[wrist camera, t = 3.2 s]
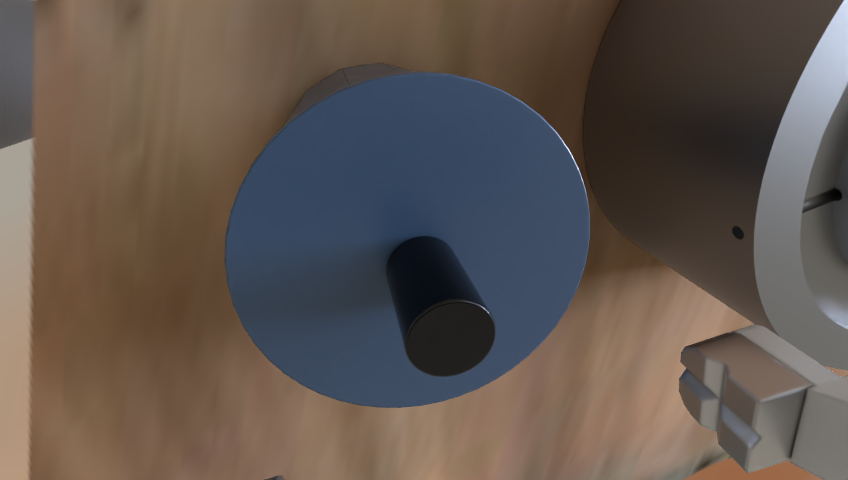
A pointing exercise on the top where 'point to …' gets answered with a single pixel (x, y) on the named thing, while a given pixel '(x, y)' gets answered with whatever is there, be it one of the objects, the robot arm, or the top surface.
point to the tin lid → (407, 239)
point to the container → (732, 154)
